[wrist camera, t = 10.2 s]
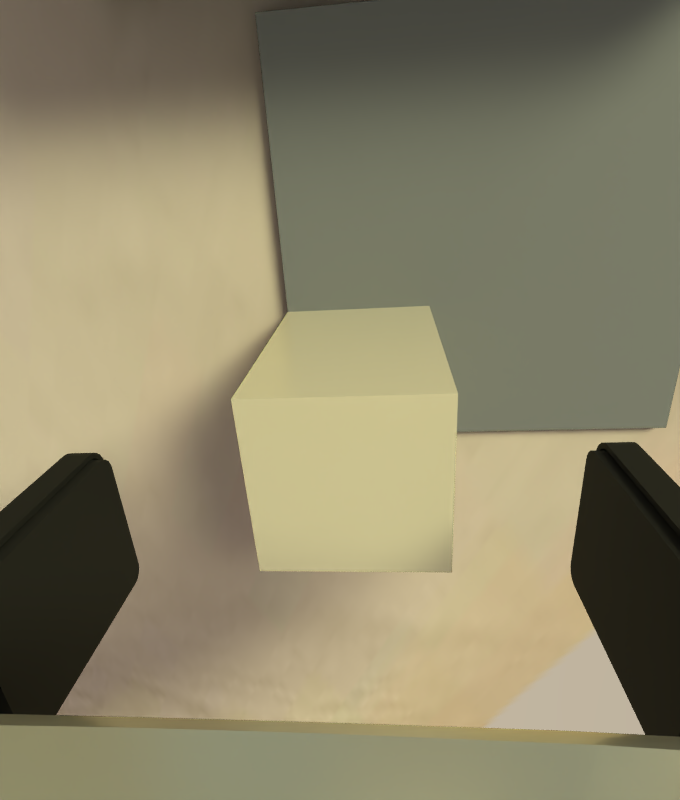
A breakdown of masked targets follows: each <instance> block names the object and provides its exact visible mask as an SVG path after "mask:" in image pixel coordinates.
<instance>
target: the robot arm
mask: <svg viewBox="0 0 680 800" xmlns="http://www.w3.org/2000/svg"><path fill="white" fill-rule="evenodd" d="M138 574H139V564H138V560H137V556H136V553H135V549H134V546H133V542H132V538H131V535H130V531H129V528H128V524H127V520H126V517H125V513H124V510H123V506H122V502H121V499H120V495H119V492H118V488H117V484H116V481H115V477H114V473H113V470H112V467H111V464H110V463H109V461H107V460H103V458H102V457H101V455H100V454H98V453H71V454H66V455H65V456H63V457H62V458H61V459H60V460H59V461H58V462H56V463H55V464H54V465H53V466H52V467H51V468H50V469H48V470H47V471H46V472H45V473H44V474H43V475H42V476H40V477H39V478H38V479H37V480H36V481H35V482H34V483H32V484H31V485H30V486H29V487H28V488H27V489H26V490H24V491H23V492H22V493H21V494H20V495H19V496H18V497H16V498H15V499H14V500H13V501H12V502H11V503H10V504H8V505H7V506H6V507H5V508H4V509H3V510H2V511H0V800H680V487H679V486H678V485H677V484H676V483H675V482H674V481H673V480H672V479H671V478H670V477H669V476H668V475H667V474H666V473H665V471H664V470H663V469H662V468H661V467H660V466H659V465H658V464H657V463H656V462H655V461H654V460H653V459H652V458H651V457H650V456H649V455H648V454H647V453H646V452H645V451H644V450H643V449H642V448H641V447H640V446H639V445H638V444H637V443H635V442H619V443H601V444H599V446H598V448H597V450H596V451H590V452H589V453H588V455H587V459H586V465H585V472H584V478H583V485H582V492H581V499H580V506H579V512H578V519H577V526H576V533H575V539H574V546H573V553H572V560H571V576H572V580H573V583H574V586H575V588H576V590H577V592H578V594H579V596H580V599H581V601H582V603H583V605H584V607H585V609H586V611H587V613H588V615H589V617H590V620H591V622H592V624H593V626H594V628H595V630H596V632H597V634H598V636H599V638H600V640H601V643H602V645H603V647H604V649H605V651H606V653H607V655H608V657H609V659H610V661H611V664H612V665H613V668H614V670H615V672H616V674H617V676H618V678H619V680H620V682H621V684H622V687H623V688H624V691H625V693H626V695H627V697H628V699H629V701H630V703H631V705H632V708H633V710H634V712H635V714H636V716H637V718H638V720H639V722H640V724H641V726H642V728H643V731H644V732H645V735H637V734H617V733H598V732H580V731H558V730H529V729H528V730H527V729H501V728H473V727H445V726H417V725H389V724H358V723H325V722H293V721H259V720H224V719H189V718H152V717H110V716H67V715H56V714H57V712H58V711H59V709H60V707H61V706H62V704H63V702H64V701H65V699H66V697H67V696H68V694H69V692H70V691H71V689H72V687H73V686H74V684H75V683H76V681H77V679H78V678H79V676H80V674H81V673H82V671H83V669H84V668H85V666H86V664H87V663H88V661H89V659H90V658H91V656H92V654H93V653H94V651H95V649H96V648H97V646H98V645H99V643H100V641H101V640H102V638H103V636H104V635H105V633H106V631H107V630H108V628H109V626H110V625H111V623H112V621H113V620H114V618H115V616H116V615H117V613H118V611H119V610H120V608H121V607H122V605H123V603H124V602H125V600H126V598H127V597H128V595H129V593H130V592H131V590H132V588H133V587H134V585H135V583H136V581H137V578H138Z"/></svg>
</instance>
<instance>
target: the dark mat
mask: <svg viewBox="0 0 680 800" xmlns="http://www.w3.org/2000/svg"><path fill="white" fill-rule="evenodd" d="M255 16H256V25H257V34H258V43H259V52H260V61H261V71H262V80H263V89H264V98H265V107H266V117H267V126H268V135H269V144H270V153H271V162H272V172H273V181H274V190H275V199H276V208H277V217H278V227H279V236H280V245H281V254H282V263H283V273H284V282H285V291H286V300H287V309H288V312H299V311H322V310H345V309H368V308H391V307H413V306H430V310H431V313H432V316H433V319H434V322H435V325H436V328H437V331H438V334H439V337H440V340H441V343H442V346H443V349H444V352H445V355H446V358H447V361H448V364H449V367H450V370H451V373H452V376H453V380H454V383H455V386H456V389H457V392H458V410H457V432H474V431H525V430H575V429H626V428H666V425H667V421H668V417H669V412H670V408H671V404H672V399H673V395H674V390H675V386H676V382H677V377H678V373H679V368H680V0H372V1H362V2H353V3H343V4H333V5H323V6H313V7H304V8H294V9H284V10H274V11H265V12H255Z"/></svg>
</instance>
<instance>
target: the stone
mask: <svg viewBox="0 0 680 800" xmlns="http://www.w3.org/2000/svg"><path fill="white" fill-rule="evenodd" d="M231 403H232V409H233V415H234V421H235V427H236V433H237V439H238V445H239V451H240V457H241V463H242V468H243V474H244V480H245V486H246V492H247V498H248V504H249V510H250V516H251V522H252V528H253V534H254V540H255V546H256V551H257V557H258V563H259V569H260V571H319V572H452V552H453V523H454V495H455V466H456V438H457V410H458V392H457V389H456V386H455V383H454V380H453V376H452V373H451V370H450V367H449V364H448V361H447V358H446V355H445V352H444V349H443V346H442V343H441V340H440V337H439V334H438V331H437V328H436V325H435V322H434V319H433V316H432V313H431V310H430V306H413V307H391V308H368V309H345V310H322V311H299V312H287V314H286V316H285V317H284V319H283V320H282V322H281V323H280V325H279V326H278V328H277V329H276V331H275V332H274V334H273V336H272V337H271V339H270V340H269V342H268V343H267V345H266V346H265V348H264V349H263V351H262V352H261V354H260V356H259V357H258V359H257V360H256V362H255V363H254V365H253V366H252V368H251V369H250V371H249V372H248V374H247V376H246V377H245V379H244V380H243V382H242V383H241V385H240V386H239V388H238V389H237V391H236V392H235V394H234V396H233V397H232V399H231Z"/></svg>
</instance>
